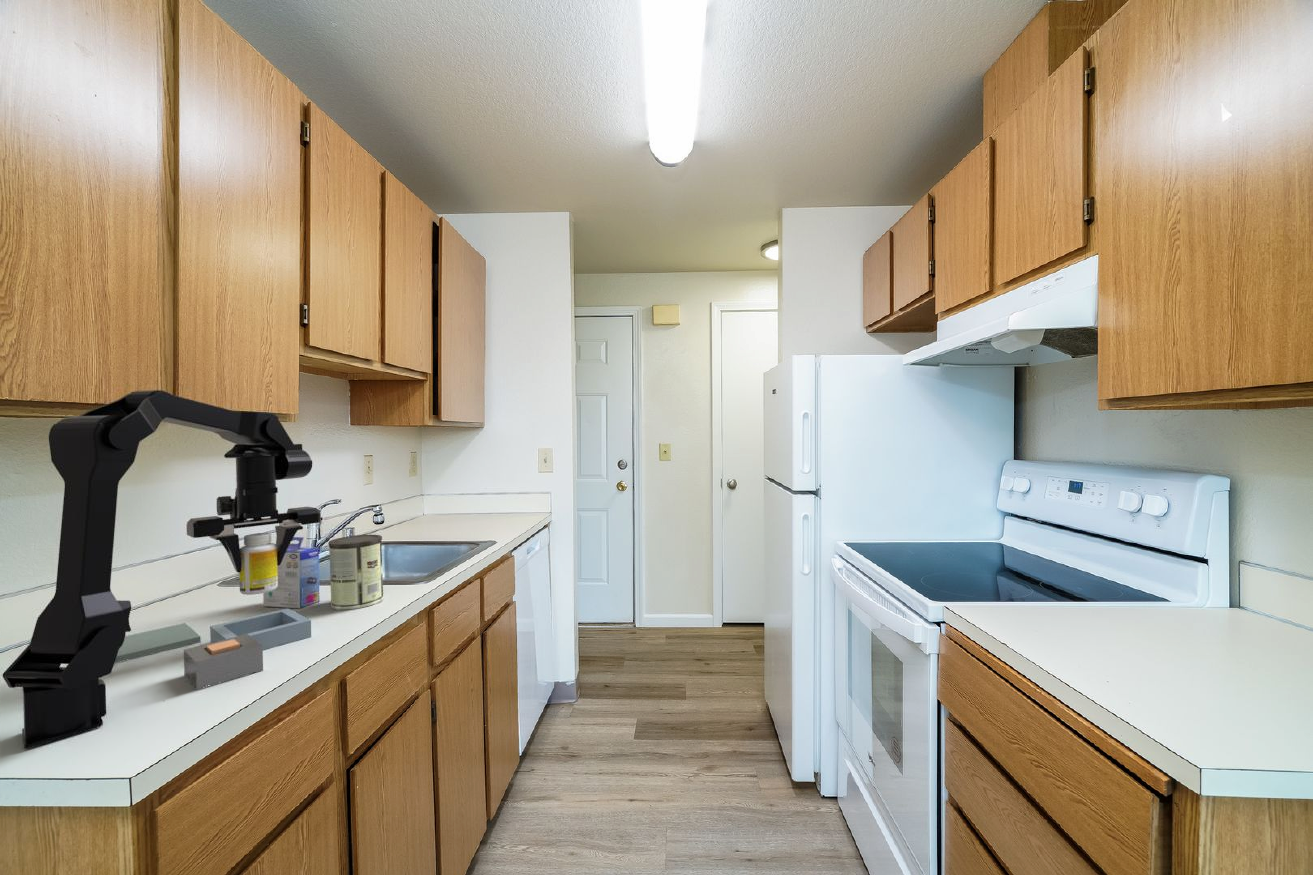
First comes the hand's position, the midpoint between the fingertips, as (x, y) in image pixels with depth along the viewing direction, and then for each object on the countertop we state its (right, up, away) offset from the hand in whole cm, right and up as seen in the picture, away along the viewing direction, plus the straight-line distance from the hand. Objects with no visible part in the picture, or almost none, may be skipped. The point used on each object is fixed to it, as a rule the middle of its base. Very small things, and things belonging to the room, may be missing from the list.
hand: (258, 568), depth 97 cm
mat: (-19, -13, -1) cm, 23 cm away
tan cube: (+5, -11, -14) cm, 18 cm away
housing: (0, -13, 0) cm, 13 cm away
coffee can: (+6, -13, +21) cm, 26 cm away
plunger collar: (+5, -13, -14) cm, 19 cm away
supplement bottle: (0, -4, 0) cm, 4 cm away
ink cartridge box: (-8, -13, +21) cm, 26 cm away
